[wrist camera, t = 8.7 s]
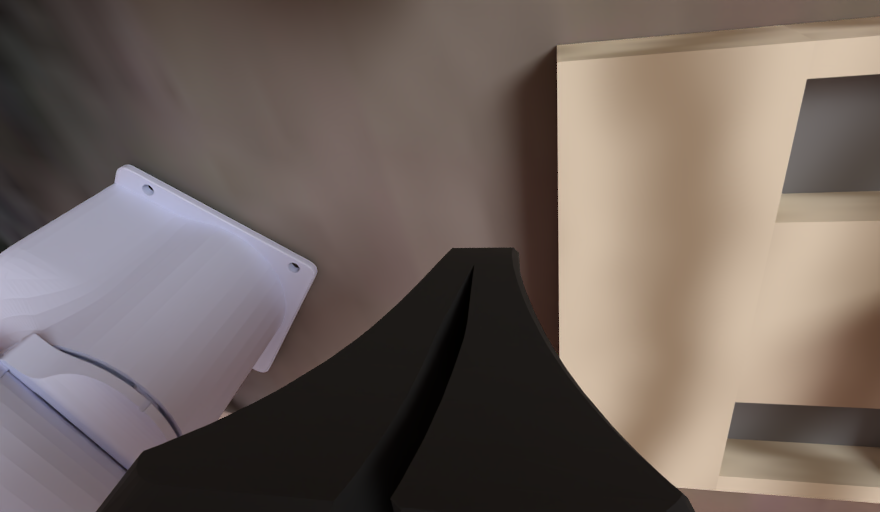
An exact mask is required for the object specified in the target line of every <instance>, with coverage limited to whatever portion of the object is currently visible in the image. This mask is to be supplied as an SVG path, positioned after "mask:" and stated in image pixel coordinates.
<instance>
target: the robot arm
mask: <svg viewBox="0 0 880 512" xmlns="http://www.w3.org/2000/svg"><path fill="white" fill-rule="evenodd" d="M148 185H149V186H151V187H152V188H153V190H154V191H152V190H151V189H150V188H149V186H148ZM292 263H295V264H297V265H298V266H299V268H297V267H295V266H293V264H292ZM316 275H317V267H316V266H315V264H314V263H312V262H311V261H309V260H307V259H305V258H304V257H302V256H300V255H298V254H296V253H294V252H292V251H291V250H289V249H287V248H285V247H283V246H281V245H279V244H278V243H276V242H274V241H272V240H270V239H268V238H266V237H265V236H263V235H261V234H259V233H257V232H255V231H253V230H251V229H250V228H248V227H246V226H244V225H242V224H240V223H238V222H237V221H235V220H233V219H231V218H229V217H227V216H225V215H224V214H222V213H220V212H218V211H216V210H214V209H212V208H211V207H209V206H207V205H205V204H203V203H201V202H199V201H197V200H196V199H194V198H192V197H190V196H188V195H186V194H184V193H183V192H181V191H179V190H177V189H175V188H173V187H171V186H170V185H168V184H166V183H164V182H162V181H160V180H158V179H157V178H155V177H153V176H151V175H149V174H147V173H145V172H143V171H142V170H140V169H138V168H136V167H134V166H132V165H124V166H122V167H120V168H119V169H118V170H117V172H116V176H115V182H114V184H112V185H111V186H109V187H107V188H106V189H104V190H103V191H101V192H99V193H98V194H96V195H94V196H93V197H91V198H89V199H88V200H86V201H84V202H83V203H81V204H79V205H78V206H76V207H75V208H73V209H71V210H70V211H68V212H66V213H65V214H63V215H61V216H60V217H58V218H56V219H55V220H53V221H51V222H50V223H48V224H47V225H45V226H43V227H42V228H40V229H38V230H37V231H35V232H33V233H32V234H30V235H28V236H27V237H25V238H23V239H22V240H20V241H18V242H17V243H15V244H14V245H12V246H10V247H9V248H8V249H6V250H5V251H3V252H2V253H1V254H0V512H695V511H694V509H693V507H692V505H691V503H690V501H689V500H688V498H687V497H686V496H685V495H684V494H683V493H682V492H681V491H679V490H678V489H677V488H676V487H675V486H674V485H673V484H671V483H670V482H669V481H668V480H667V479H666V478H665V477H664V476H662V475H661V474H660V473H659V472H658V471H657V470H656V469H655V468H654V467H653V466H652V465H651V464H650V463H649V462H647V461H646V460H645V459H644V458H643V457H642V456H641V455H640V454H639V453H638V452H637V451H636V450H635V449H634V448H633V447H632V446H631V445H630V444H629V443H628V442H627V441H626V440H625V439H624V438H623V436H622V435H621V434H620V433H619V432H618V431H617V430H616V429H615V428H614V427H613V426H612V425H611V424H610V422H609V421H608V420H607V419H606V418H605V417H604V415H603V414H602V413H601V412H600V411H599V409H598V408H597V407H596V406H595V405H594V404H593V402H592V401H591V400H590V399H589V398H588V397H587V395H586V394H585V393H584V392H583V390H582V389H581V388H580V386H579V385H578V384H577V382H576V381H575V380H574V378H573V377H572V376H571V374H570V373H569V371H568V370H567V368H566V367H565V365H564V364H563V362H562V361H561V359H560V358H559V356H558V355H557V353H556V352H555V350H554V348H553V347H552V345H551V343H550V341H549V340H548V338H547V336H546V334H545V332H544V330H543V329H542V327H541V325H540V323H539V321H538V319H537V317H536V315H535V312H534V310H533V308H532V305H531V303H530V300H529V298H528V296H527V293H526V291H525V288H524V285H523V281H522V278H521V274H520V263H519V252H517V251H516V250H515V249H514V248H452V249H451V250H450V251H449V252H448V253H447V254H446V255H445V256H444V257H443V258H442V259H441V260H440V261H439V262H438V263H437V264H436V265H435V266H434V268H433V269H432V270H431V271H430V272H429V273H428V274H427V275H426V276H425V277H424V278H423V279H422V280H421V281H420V282H419V283H418V284H417V285H416V286H415V287H414V288H413V289H412V290H411V291H410V292H409V293H408V294H407V295H406V296H405V297H404V298H403V299H402V300H401V301H400V302H399V303H398V304H397V305H396V306H395V307H394V308H393V309H392V310H390V311H389V312H388V313H387V314H386V315H385V316H384V317H383V318H382V319H380V320H379V321H378V322H377V323H376V324H375V325H374V326H373V327H371V328H370V329H369V330H368V331H366V332H365V333H364V334H363V335H361V336H360V337H359V338H357V339H356V340H355V341H354V342H352V343H351V344H349V345H348V346H347V347H345V348H344V349H342V350H341V351H340V352H338V353H337V354H336V355H334V356H333V357H331V358H330V359H328V360H327V361H325V362H324V363H322V364H321V365H319V366H317V367H316V368H314V369H312V370H311V371H309V372H307V373H306V374H304V375H302V376H301V377H299V378H298V379H296V380H294V381H293V382H291V383H289V384H288V385H286V386H284V387H283V388H281V389H279V390H277V391H276V392H274V393H272V394H270V395H268V396H266V397H264V398H262V399H260V400H259V401H257V402H255V403H253V404H251V405H249V406H247V407H245V408H243V409H240V410H238V411H236V412H234V413H232V414H230V415H228V416H226V417H224V418H222V419H220V420H218V419H219V417H220V416H221V414H222V413H223V411H224V410H225V408H226V407H227V405H228V404H229V402H230V401H231V399H232V398H233V396H234V395H235V393H236V392H237V390H238V389H239V387H240V386H241V385H242V383H243V382H244V380H245V379H246V377H247V376H248V374H249V373H250V371H251V370H252V369H254V370H256V371H258V372H267V371H268V370H269V368H270V367H271V365H272V363H273V361H274V359H275V357H276V355H277V353H278V351H279V349H280V347H281V345H282V343H283V341H284V339H285V337H286V335H287V333H288V331H289V329H290V327H291V325H292V323H293V321H294V319H295V317H296V315H297V313H298V311H299V309H300V307H301V305H302V303H303V301H304V299H305V297H306V295H307V293H308V291H309V289H310V287H311V285H312V283H313V281H314V279H315V277H316Z"/></svg>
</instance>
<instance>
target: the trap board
mask: <svg viewBox="0 0 880 512" xmlns="http://www.w3.org/2000/svg"><path fill="white" fill-rule="evenodd" d="M557 122H558V244H559V358H560V359H561V361H562V362H563V364H564V365H565V367H566V368H567V370H568V371H569V373H570V374H571V376H572V377H573V378H574V380H575V381H576V382H577V384H578V385H579V386H580V388H581V389H582V390H583V392H584V393H585V394H586V395H587V397H588V398H589V399H590V400H591V401H592V402H593V404H594V405H595V406H596V407H597V408H598V409H599V411H600V412H601V413H602V414H603V415H604V417H605V418H606V419H607V420H608V421H609V422H610V424H611V425H612V426H613V427H614V428H615V429H616V430H617V431H618V432H619V433H620V434H621V435H622V436H623V438H624V439H625V440H626V441H627V442H628V443H629V444H630V445H631V446H632V447H633V448H634V449H635V450H636V451H637V452H638V453H639V454H640V455H641V456H642V457H643V458H644V459H645V460H646V461H647V462H649V463H650V464H651V465H652V466H653V467H654V468H655V469H656V470H657V471H658V472H659V473H660V474H661V475H662V476H664V477H665V478H666V479H667V480H668V481H669V482H670V483H671V484H673V485H674V486H675V487H677V488H690V489H703V490H716V491H729V492H741V493H754V494H767V495H780V496H793V497H806V498H819V499H832V500H845V501H857V502H870V503H880V17H869V18H857V19H846V20H835V21H824V22H812V23H801V24H790V25H779V26H767V27H756V28H745V29H734V30H722V31H711V32H700V33H689V34H677V35H666V36H655V37H644V38H632V39H621V40H610V41H599V42H587V43H576V44H565V45H557Z"/></svg>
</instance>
